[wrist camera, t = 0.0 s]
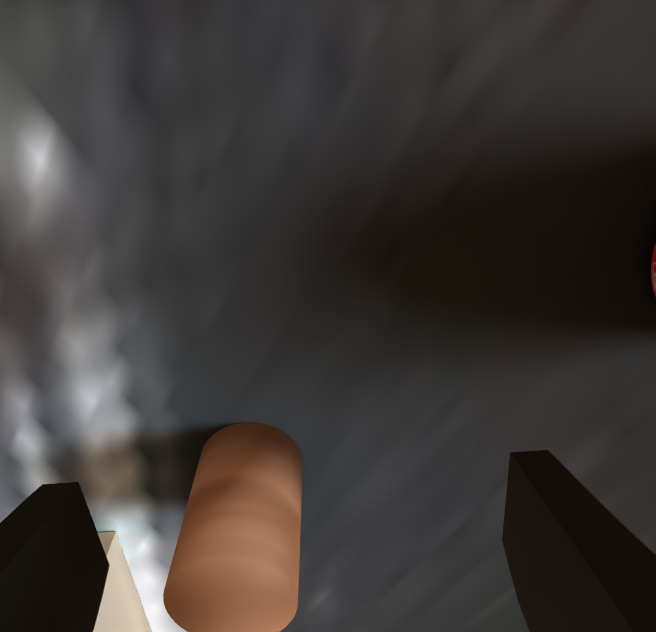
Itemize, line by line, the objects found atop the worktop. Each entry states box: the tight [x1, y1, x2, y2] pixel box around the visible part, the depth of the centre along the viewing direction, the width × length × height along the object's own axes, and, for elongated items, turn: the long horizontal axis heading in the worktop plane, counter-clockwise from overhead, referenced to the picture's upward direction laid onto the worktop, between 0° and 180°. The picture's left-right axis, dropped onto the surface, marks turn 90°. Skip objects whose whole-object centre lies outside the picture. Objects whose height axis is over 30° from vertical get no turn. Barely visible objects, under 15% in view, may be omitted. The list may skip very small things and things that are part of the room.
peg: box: [163, 423, 303, 632], centre depth 20 cm, size 4×4×6 cm
